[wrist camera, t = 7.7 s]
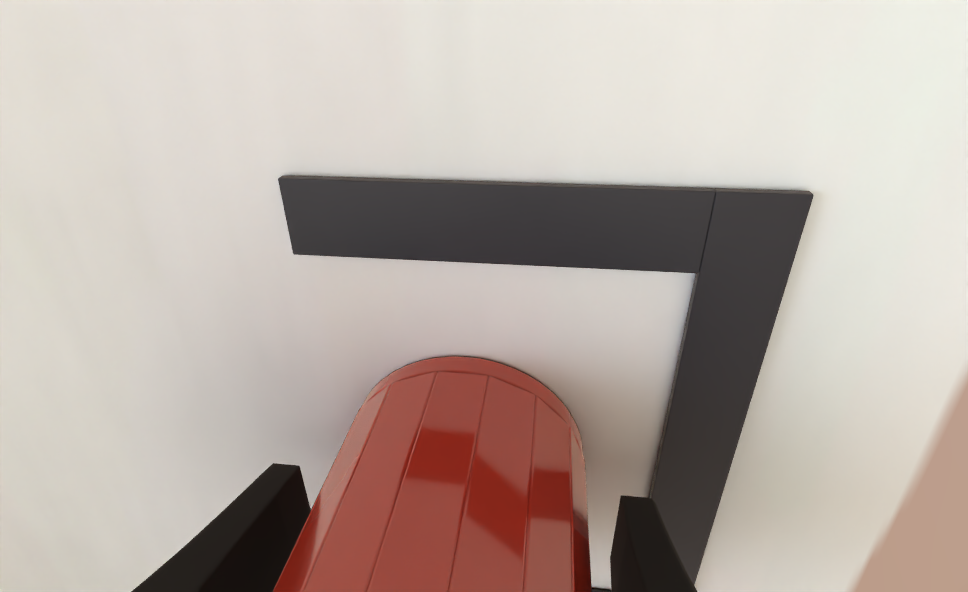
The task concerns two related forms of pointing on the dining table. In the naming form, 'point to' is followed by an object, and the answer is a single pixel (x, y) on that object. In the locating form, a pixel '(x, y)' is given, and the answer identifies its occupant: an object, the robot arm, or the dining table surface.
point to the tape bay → (604, 245)
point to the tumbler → (450, 490)
